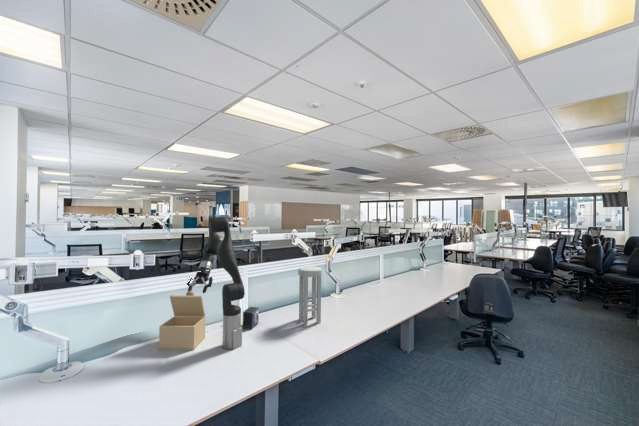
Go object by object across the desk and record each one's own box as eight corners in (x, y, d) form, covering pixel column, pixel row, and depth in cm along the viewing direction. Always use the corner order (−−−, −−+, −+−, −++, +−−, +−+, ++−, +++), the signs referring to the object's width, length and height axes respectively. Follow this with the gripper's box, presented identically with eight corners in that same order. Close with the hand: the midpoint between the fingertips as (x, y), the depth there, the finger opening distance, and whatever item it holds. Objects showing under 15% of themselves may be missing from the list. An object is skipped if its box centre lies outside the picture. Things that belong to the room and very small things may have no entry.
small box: (251, 329, 169) (252, 312, 170) (242, 328, 171) (242, 311, 171) (259, 323, 180) (259, 307, 180) (249, 322, 181) (250, 306, 181)
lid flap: (174, 316, 157) (180, 307, 164) (204, 316, 157) (209, 308, 164) (169, 296, 152) (175, 288, 158) (200, 296, 152) (205, 288, 158)
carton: (173, 337, 157) (173, 316, 157) (204, 338, 157) (205, 316, 157) (159, 349, 143) (159, 326, 143) (193, 349, 143) (194, 326, 143)
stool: (324, 323, 181) (325, 269, 181) (302, 326, 175) (302, 271, 176) (316, 315, 195) (316, 265, 196) (295, 318, 190) (295, 267, 190)
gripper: (191, 266, 175) (182, 289, 163) (214, 266, 175) (206, 289, 163) (195, 272, 180) (186, 295, 169) (217, 273, 180) (209, 295, 169)
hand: (196, 292), depth 166 cm, fingers open, 8 cm apart
